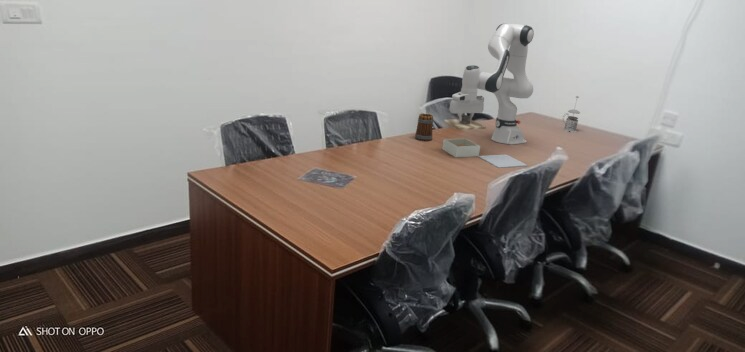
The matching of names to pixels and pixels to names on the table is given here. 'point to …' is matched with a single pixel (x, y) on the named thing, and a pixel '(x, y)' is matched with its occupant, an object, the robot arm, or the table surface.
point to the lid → (465, 123)
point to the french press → (571, 120)
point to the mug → (424, 127)
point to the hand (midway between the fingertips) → (465, 120)
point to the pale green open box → (461, 147)
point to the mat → (502, 161)
